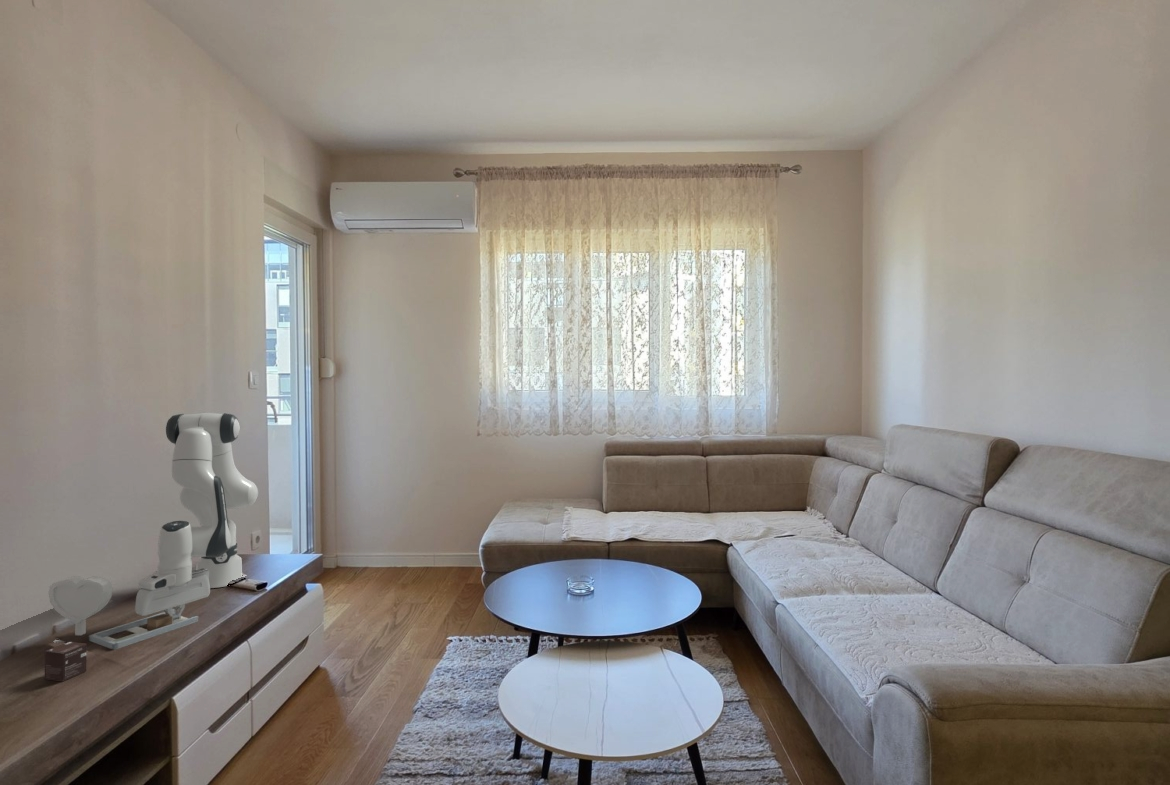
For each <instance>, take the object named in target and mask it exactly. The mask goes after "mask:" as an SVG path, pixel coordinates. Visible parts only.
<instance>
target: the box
mask: <svg viewBox="0 0 1170 785" xmlns="http://www.w3.org/2000/svg"><path fill="white" fill-rule="evenodd" d="M85 672H87V643H83V642H82V643H81V642H74V641H68V642H67V643H61V644H59V645H56V646H54V647H52V648H49V649H47V650H45V651H44V680H47V681H48V680H49V681H58V682H65V681H67V680H70V679H72V678H75V677H76V676H77V677H78V676H79V675H81V674H83V673H85ZM78 674H79V675H78Z"/></svg>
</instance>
